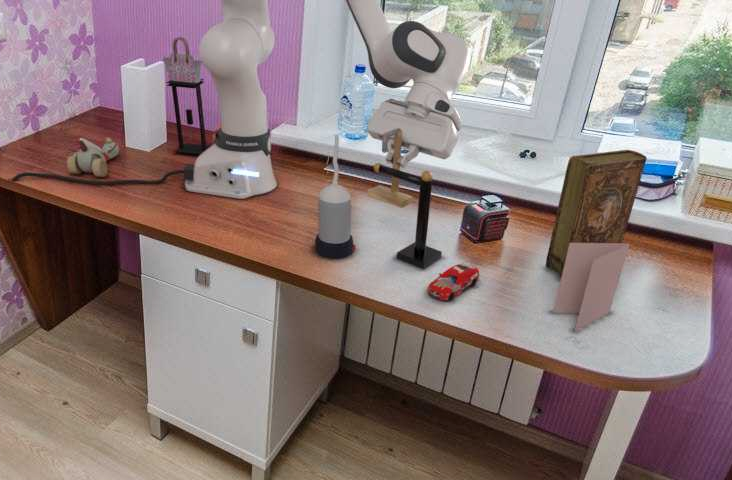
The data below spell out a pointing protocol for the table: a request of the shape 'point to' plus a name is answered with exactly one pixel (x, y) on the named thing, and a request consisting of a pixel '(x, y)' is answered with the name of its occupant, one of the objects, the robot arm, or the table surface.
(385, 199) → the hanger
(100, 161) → the toy dog
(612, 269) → the greeting card
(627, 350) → the table surface
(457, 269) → the race car
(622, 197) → the book
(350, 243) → the humidifier
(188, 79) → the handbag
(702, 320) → the table surface
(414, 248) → the stand
